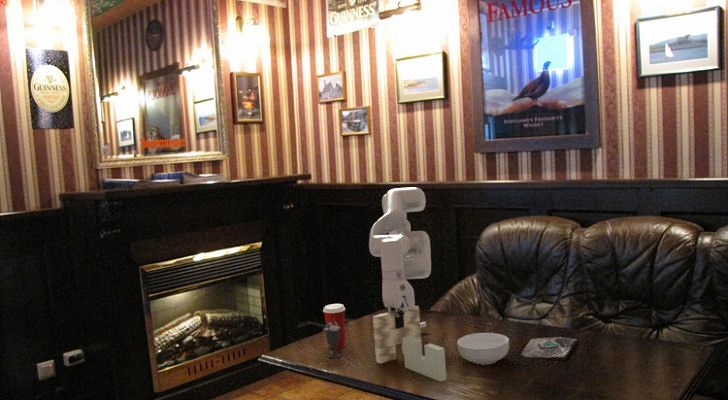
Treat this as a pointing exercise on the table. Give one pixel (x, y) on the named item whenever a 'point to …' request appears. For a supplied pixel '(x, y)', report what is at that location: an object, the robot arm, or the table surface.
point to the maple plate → (394, 332)
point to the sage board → (424, 358)
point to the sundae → (333, 337)
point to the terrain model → (549, 348)
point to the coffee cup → (336, 319)
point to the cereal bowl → (483, 347)
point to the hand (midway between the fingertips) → (397, 326)
